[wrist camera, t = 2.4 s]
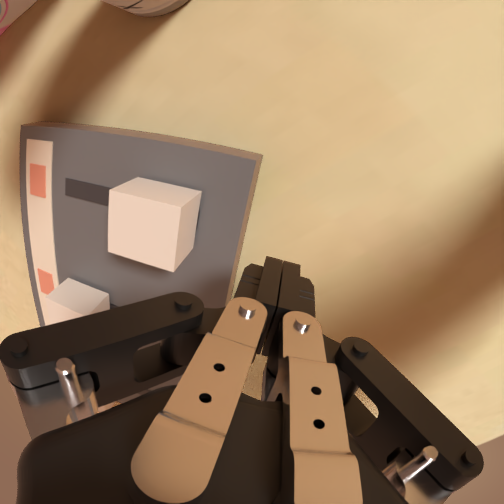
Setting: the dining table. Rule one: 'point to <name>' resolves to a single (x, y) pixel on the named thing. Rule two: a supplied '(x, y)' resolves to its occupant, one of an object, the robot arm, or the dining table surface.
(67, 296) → the tab
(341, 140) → the dining table surface
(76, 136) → the switch housing
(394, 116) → the dining table surface
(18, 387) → the robot arm
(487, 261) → the dining table surface
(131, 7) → the travel mug
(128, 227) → the white block
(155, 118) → the dining table surface
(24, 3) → the gum box
